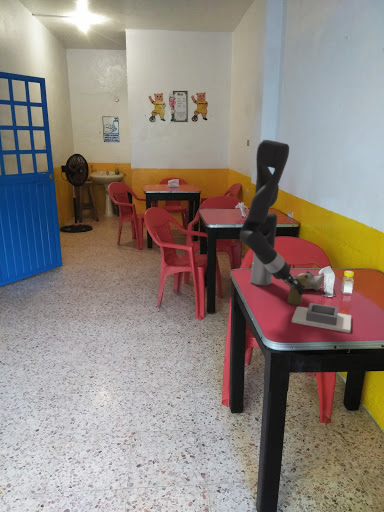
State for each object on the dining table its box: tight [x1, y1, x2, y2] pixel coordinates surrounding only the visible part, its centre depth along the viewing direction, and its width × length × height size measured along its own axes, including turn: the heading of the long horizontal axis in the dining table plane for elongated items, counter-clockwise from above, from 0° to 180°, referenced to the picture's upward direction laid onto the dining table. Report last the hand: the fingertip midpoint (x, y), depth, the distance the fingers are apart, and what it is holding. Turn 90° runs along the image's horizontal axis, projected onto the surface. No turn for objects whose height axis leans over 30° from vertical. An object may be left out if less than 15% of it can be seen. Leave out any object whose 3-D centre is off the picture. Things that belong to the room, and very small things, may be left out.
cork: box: [286, 275, 303, 306], centre depth 162 cm, size 6×6×11 cm
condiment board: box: [291, 302, 352, 334], centre depth 147 cm, size 20×14×4 cm
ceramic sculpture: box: [288, 270, 324, 292], centre depth 179 cm, size 11×9×15 cm
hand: (299, 291), depth 163 cm, fingers closed on cork, 4 cm apart
